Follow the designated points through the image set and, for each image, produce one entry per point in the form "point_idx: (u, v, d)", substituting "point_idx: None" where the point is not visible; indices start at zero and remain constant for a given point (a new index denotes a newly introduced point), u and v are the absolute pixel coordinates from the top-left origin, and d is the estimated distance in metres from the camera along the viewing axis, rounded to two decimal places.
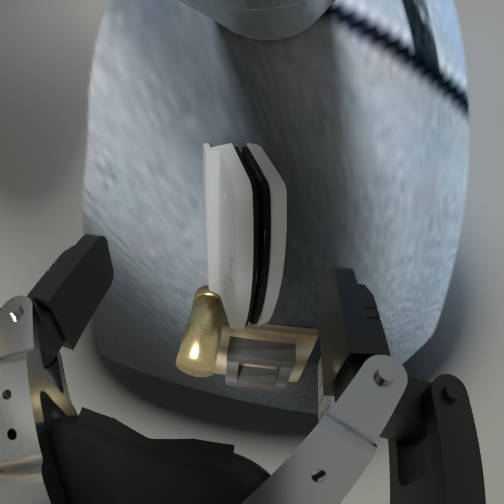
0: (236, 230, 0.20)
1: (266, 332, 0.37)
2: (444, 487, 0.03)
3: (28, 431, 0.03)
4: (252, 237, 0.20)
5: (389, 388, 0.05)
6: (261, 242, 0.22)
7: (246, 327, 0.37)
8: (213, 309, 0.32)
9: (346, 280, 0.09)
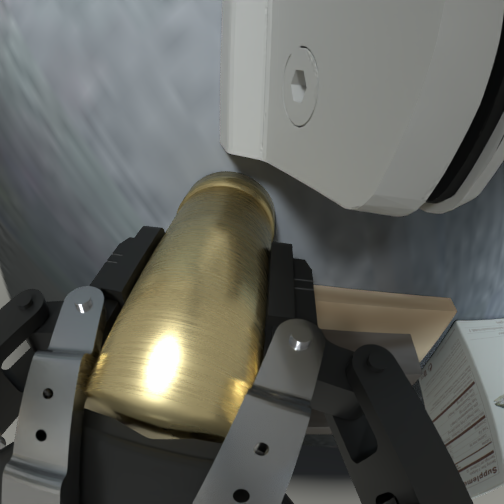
0: None
1: (359, 308, 0.15)
2: (399, 461, 0.04)
3: (59, 439, 0.03)
4: None
5: (301, 350, 0.06)
6: None
7: None
8: (238, 215, 0.10)
9: (282, 253, 0.09)
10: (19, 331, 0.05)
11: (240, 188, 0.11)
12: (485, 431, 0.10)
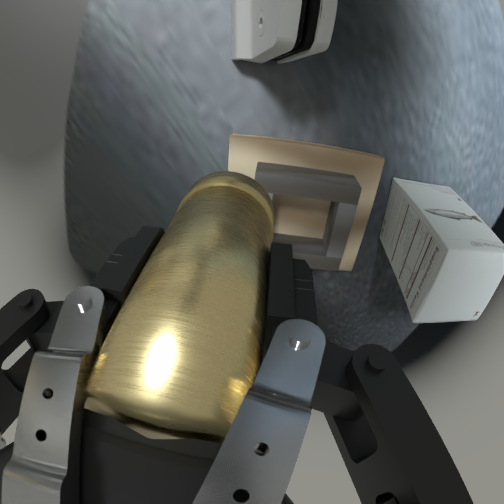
0: None
1: (312, 149, 0.24)
2: (399, 461, 0.04)
3: (59, 439, 0.03)
4: None
5: (301, 350, 0.06)
6: None
7: (283, 141, 0.24)
8: (237, 214, 0.10)
9: (282, 253, 0.09)
10: (19, 331, 0.05)
11: (239, 188, 0.11)
12: (422, 228, 0.19)
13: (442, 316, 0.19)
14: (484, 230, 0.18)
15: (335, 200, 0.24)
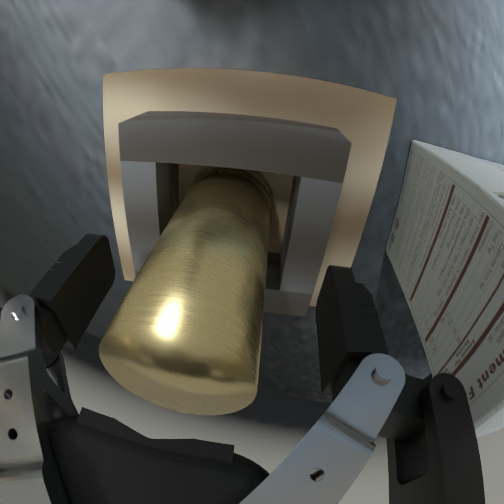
0: None
1: (248, 76, 0.11)
2: (443, 486, 0.03)
3: (29, 432, 0.03)
4: None
5: (387, 386, 0.05)
6: None
7: (191, 68, 0.11)
8: (240, 196, 0.11)
9: (344, 279, 0.09)
10: None
11: (242, 174, 0.12)
12: (499, 238, 0.06)
13: None
14: None
15: (291, 172, 0.10)
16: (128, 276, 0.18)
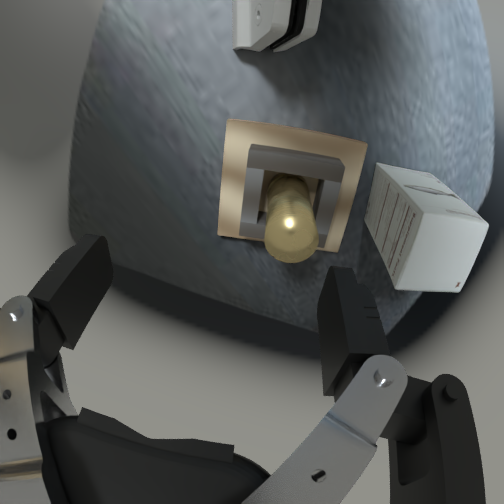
0: None
1: (301, 133, 0.26)
2: (444, 487, 0.03)
3: (28, 432, 0.03)
4: None
5: (389, 388, 0.05)
6: None
7: (274, 125, 0.26)
8: (300, 186, 0.26)
9: (346, 280, 0.09)
10: None
11: (297, 178, 0.28)
12: (401, 200, 0.22)
13: (424, 284, 0.21)
14: (461, 204, 0.20)
15: (321, 177, 0.26)
16: (220, 232, 0.33)
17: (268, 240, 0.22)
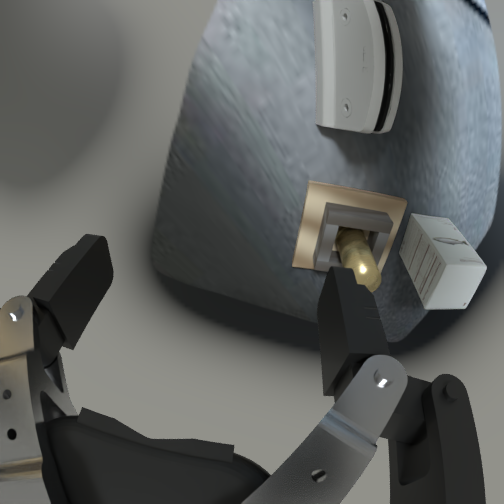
0: (369, 18, 0.18)
1: (362, 195, 0.36)
2: (444, 487, 0.03)
3: (27, 432, 0.03)
4: (380, 24, 0.18)
5: (389, 388, 0.05)
6: (383, 37, 0.20)
7: (344, 189, 0.36)
8: (363, 237, 0.36)
9: (346, 280, 0.09)
10: None
11: None
12: (431, 250, 0.31)
13: (442, 305, 0.31)
14: (469, 251, 0.30)
15: (376, 230, 0.35)
16: (295, 264, 0.43)
17: None
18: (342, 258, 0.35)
